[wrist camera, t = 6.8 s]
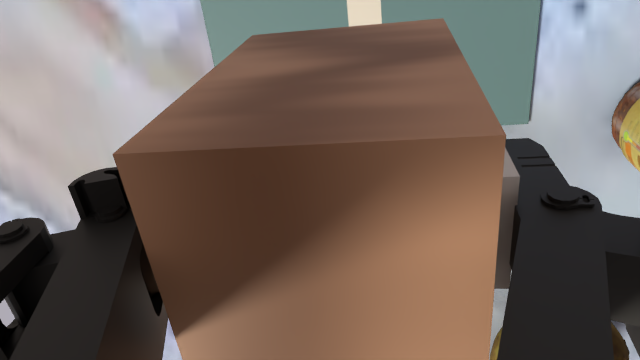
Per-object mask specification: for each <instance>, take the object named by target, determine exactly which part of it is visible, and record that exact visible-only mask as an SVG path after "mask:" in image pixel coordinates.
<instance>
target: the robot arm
mask: <svg viewBox="0 0 640 360" xmlns="http://www.w3.org/2000/svg"><path fill="white" fill-rule="evenodd" d="M68 188H69V191H70V193H71V196H72V198H73V201H74V203H75V206H76V208H77V211H78V213H79V216H80V218H81V220H80V222H79V224H78V226H77V228H76V229H75V230H70V231H65V232H60V233H56V234H51V235H50V234H49V231H48V229H47V227H46V225H45V222H44V221H43V220H41V219H39V218H24V219H15V220H12V222H11V221H8V222H5V223H3V224H2V225H1V226H0V303H1V301H3V300H4V298H5V300H6V302H7V304H8V306H9V307H10V309H11V311H12V313H13V315H14V317H15V319H14V320H13V322H12V323H11V324H10V325H8V326H7V327H6V326H5V325H4V324H3V323H2V321H1V320H0V360H162V357H163V350H164V343H165V336H166V329H167V322H168V315H167V312H166V309H165V306H164V303H163V300H162V298H161V295H160V292H159V289H158V286H157V283H156V280H155V277H154V274H153V271H152V268H151V265H150V262H149V259H148V256H147V254H146V251H145V248H144V245H143V242H142V239H141V236H140V233H139V230H138V227H137V224H136V221H135V218H134V215H133V212H132V209H131V207H130V204H129V201H128V198H127V195H126V192H125V189H124V186H123V183H122V180H121V177H120V174H119V171H118V168H117V167H114V168H105V169H101V170H97V171H93V172H90V173H88V174H85V175H83V176H81V177H79V178H78V179H76V180H74V181H73V182H72V183H71V184H70V185H69V186H68ZM511 269H512V274H511ZM510 275H511V280H510ZM494 289H509V292H508V298H507V303H506V309H505V315H504V321H503V327H502V333H501V338H500V344H499V350H498V356H497V360H614V354H613V341H612V329H611V320H613V321H617V322H622V323H625V326H626V330H627V332H628V334H629V336H630V338H631V340H632V342H633V344H634V346H635V348H636V351H637V353H638V355H639V357H640V218H634V217H627V216H620V215H615V214H610V213H607V212H603V211H602V205H601V203H600V201H599V199H598V198H597V197H595V196H594V195H593V194H591V193H590V192H588V191H585V190H583V189H580V188H578V187H573V186H569V184H568V183H567V181H566V180H565V178H564V177H563V175H562V174H561V172H560V171H559V169H558V168H557V166H555V163H554V162H553V160H552V159H551V158H550V156H549V154H548V153H547V151H546V150H545V148H544V147H543V146H542V145H540V144H538V143H536V142H535V141H533V140H531V139H529V138H523V139H506V142H505V155H504V168H503V181H502V194H501V207H500V220H499V233H498V246H497V259H496V272H495V285H494Z"/></svg>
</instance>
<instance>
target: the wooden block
mask: <svg viewBox="0 0 640 360" xmlns="http://www.w3.org/2000/svg"><path fill="white" fill-rule="evenodd" d="M505 142H506V134H505V132H504V130H503V129H502V127H501V125H500V123H499V121H498V119H497V117H496V115H495V114H494V112H493V110H492V108H491V106H490V104H489V102H488V101H487V99H486V97H485V95H484V93H483V91H482V89H481V88H480V86H479V84H478V82H477V80H476V78H475V76H474V75H473V73H472V71H471V69H470V67H469V65H468V63H467V62H466V60H465V58H464V56H463V54H462V52H461V50H460V49H459V47H458V45H457V43H456V41H455V39H454V37H453V35H452V34H451V32H450V30H449V28H448V26H447V24H446V22H445V21H444V19H443V18H441V19H429V20H418V21H406V22H395V23H384V24H372V25H361V26H350V27H338V28H327V29H316V30H304V31H293V32H282V33H270V34H259V35H252V36H251V37H250V38H248V39H247V40H246V41H245V42H244V43H243V44H241V45H240V46H239V47H238V48H237V49H236V50H234V51H233V52H232V53H231V54H230V55H228V56H227V57H226V58H225V59H224V60H223V61H221V62H220V63H219V64H218V65H217V66H216V67H214V68H213V69H212V70H211V71H210V72H209V73H207V74H206V75H205V76H204V77H203V78H201V79H200V80H199V81H198V82H197V83H196V84H194V85H193V86H192V87H191V88H190V89H189V90H187V91H186V92H185V93H184V94H183V95H182V96H180V97H179V98H178V99H177V100H176V101H175V102H173V103H172V104H171V105H170V106H169V107H167V108H166V109H165V110H164V111H163V112H162V113H160V114H159V115H158V116H157V117H156V118H155V119H153V120H152V121H151V122H150V123H149V124H148V125H146V126H145V127H144V128H143V129H142V130H141V131H139V132H138V133H137V134H136V135H135V136H133V137H132V138H131V139H130V140H129V141H128V142H126V143H125V144H124V145H123V146H122V147H121V148H119V149H118V150H117V151H116V152H115V153H114V154H113V157H114V160H115V163H116V165H117V168H118V171H119V174H120V177H121V180H122V183H123V186H124V189H125V192H126V195H127V198H128V201H129V204H130V207H131V209H132V212H133V215H134V218H135V221H136V224H137V227H138V230H139V233H140V236H141V239H142V242H143V245H144V248H145V251H146V254H147V256H148V259H149V262H150V265H151V268H152V271H153V274H154V277H155V280H156V283H157V286H158V289H159V292H160V295H161V298H162V300H163V303H164V306H165V309H166V312H167V315H168V318H169V321H170V324H171V327H172V330H173V333H174V336H175V339H176V342H177V344H178V347H179V350H180V353H181V356H182V359H183V360H489V350H490V337H491V324H492V311H493V298H494V285H495V272H496V259H497V246H498V233H499V220H500V207H501V194H502V181H503V168H504V155H505Z"/></svg>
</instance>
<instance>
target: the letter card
mask: <svg viewBox="0 0 640 360" xmlns="http://www.w3.org/2000/svg"><path fill="white" fill-rule="evenodd" d="M200 2H201V6H202V11H203V16H204V20H205V25H206V29H207V34H208V39H209V43H210V48H211V53H212V57H213V62H214V67H216V66H217V65H218V64H219V63H220V62H221V61H223V60H224V59H225V58H226V57H227V56H228V55H230V54H231V53H232V52H233V51H234V50H236V49H237V48H238V47H239V46H240V45H241V44H243V43H244V42H245V41H246V40H247V39H248V38H250V37H251V36H252V35H259V34H270V33H282V32H293V31H304V30H316V29H327V28H338V27H350V26H361V25H372V24H384V23H395V22H406V21H418V20H429V19H441V18H443V19H444V21H445V22H446V24H447V26H448V28H449V30H450V32H451V34H452V35H453V37H454V39H455V41H456V43H457V45H458V47H459V49H460V50H461V52H462V54H463V56H464V58H465V60H466V62H467V63H468V65H469V67H470V69H471V71H472V73H473V75H474V76H475V78H476V80H477V82H478V84H479V86H480V88H481V89H482V91H483V93H484V95H485V97H486V99H487V101H488V102H489V104H490V106H491V108H492V110H493V112H494V114H495V115H496V117H497V119H498V121H499V123H500V125H515V124H528V122H529V112H530V102H531V92H532V82H533V73H534V63H535V53H536V43H537V33H538V23H539V13H540V4H541V0H200Z"/></svg>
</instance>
